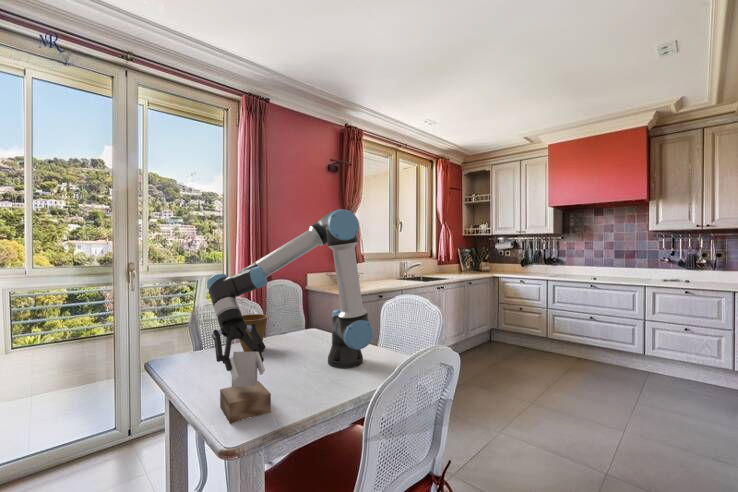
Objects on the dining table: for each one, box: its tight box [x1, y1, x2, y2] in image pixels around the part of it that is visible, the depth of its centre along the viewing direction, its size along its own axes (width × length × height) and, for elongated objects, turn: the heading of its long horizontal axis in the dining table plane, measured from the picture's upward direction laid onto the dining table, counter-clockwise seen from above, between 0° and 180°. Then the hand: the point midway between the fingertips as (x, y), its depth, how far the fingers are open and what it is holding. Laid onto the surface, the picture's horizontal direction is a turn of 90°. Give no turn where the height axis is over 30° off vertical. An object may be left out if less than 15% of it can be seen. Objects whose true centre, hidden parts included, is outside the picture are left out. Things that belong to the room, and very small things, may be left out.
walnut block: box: [219, 380, 272, 424], centre depth 110 cm, size 12×12×6 cm
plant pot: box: [238, 313, 268, 352], centre depth 171 cm, size 15×15×16 cm
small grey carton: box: [231, 351, 258, 387], centre depth 110 cm, size 4×7×10 cm, turn 95°
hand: (249, 375), depth 108 cm, fingers closed on small grey carton, 8 cm apart
